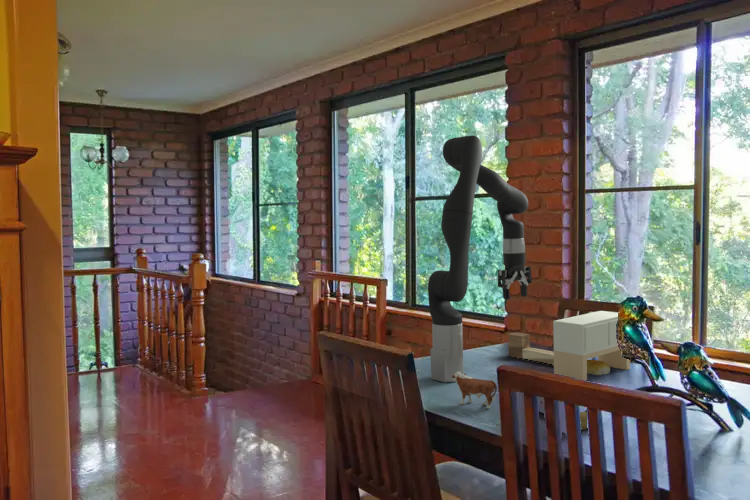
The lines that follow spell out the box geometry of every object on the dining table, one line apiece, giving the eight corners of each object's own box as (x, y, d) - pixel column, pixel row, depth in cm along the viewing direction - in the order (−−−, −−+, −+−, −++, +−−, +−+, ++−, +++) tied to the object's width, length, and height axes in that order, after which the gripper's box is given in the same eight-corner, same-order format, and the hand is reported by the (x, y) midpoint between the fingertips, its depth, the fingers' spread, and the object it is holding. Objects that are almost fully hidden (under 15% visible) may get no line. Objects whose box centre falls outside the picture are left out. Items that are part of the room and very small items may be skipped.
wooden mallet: (567, 368, 200) (567, 343, 199) (508, 356, 218) (508, 333, 218) (575, 366, 202) (574, 341, 202) (516, 354, 221) (515, 332, 220)
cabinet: (584, 384, 180) (584, 324, 179) (554, 377, 188) (553, 320, 187) (631, 369, 196) (631, 314, 195) (601, 363, 205) (601, 310, 204)
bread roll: (594, 367, 200) (594, 355, 200) (614, 374, 192) (614, 361, 191) (573, 370, 197) (573, 358, 197) (593, 377, 189) (593, 364, 188)
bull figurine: (455, 398, 171) (455, 369, 170) (499, 406, 162) (499, 376, 162) (447, 402, 167) (446, 372, 167) (491, 411, 159) (491, 379, 158)
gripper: (507, 253, 207) (508, 301, 208) (536, 250, 215) (537, 296, 216) (491, 252, 213) (492, 299, 214) (520, 249, 221) (521, 294, 222)
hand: (515, 297), depth 215 cm, fingers open, 8 cm apart
